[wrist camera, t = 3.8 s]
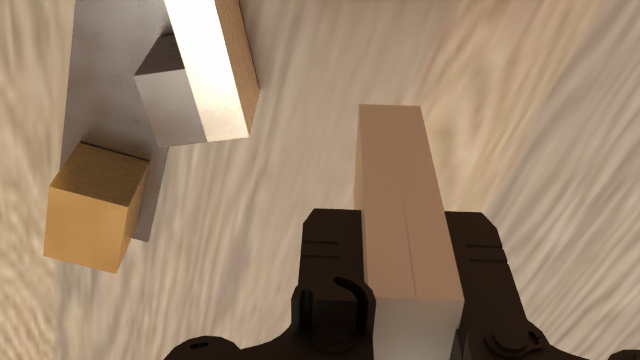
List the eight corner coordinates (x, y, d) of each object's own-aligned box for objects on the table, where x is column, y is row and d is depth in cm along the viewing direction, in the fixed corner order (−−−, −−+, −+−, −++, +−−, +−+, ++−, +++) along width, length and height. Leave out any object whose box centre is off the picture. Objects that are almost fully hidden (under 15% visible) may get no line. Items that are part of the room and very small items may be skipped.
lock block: (78, 142, 27) (49, 186, 25) (149, 161, 28) (128, 207, 25) (71, 208, 30) (43, 255, 27) (136, 225, 30) (116, 273, 27)
